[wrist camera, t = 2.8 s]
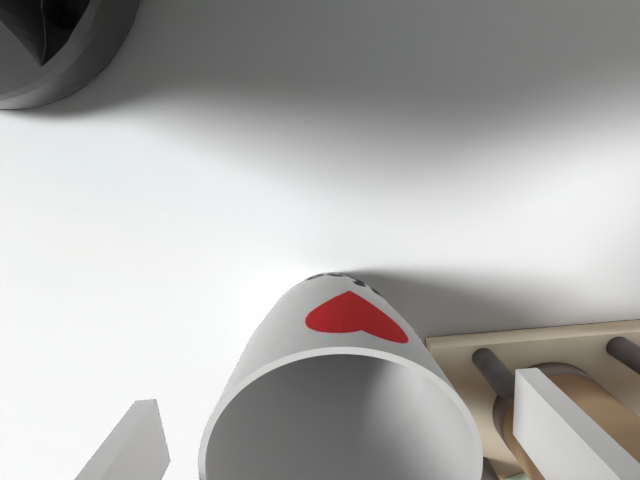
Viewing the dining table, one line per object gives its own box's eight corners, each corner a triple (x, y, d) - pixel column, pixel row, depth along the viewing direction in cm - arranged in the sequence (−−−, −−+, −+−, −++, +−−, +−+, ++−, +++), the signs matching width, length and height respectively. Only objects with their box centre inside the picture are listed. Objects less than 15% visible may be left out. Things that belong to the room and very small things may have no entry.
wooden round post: (494, 366, 19) (573, 461, 13) (603, 357, 19) (734, 448, 13) (490, 455, 20) (560, 575, 14) (592, 447, 20) (705, 565, 14)
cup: (428, 305, 19) (542, 457, 9) (337, 399, 21) (354, 614, 11) (320, 216, 18) (321, 286, 8) (230, 323, 19) (142, 489, 10)
